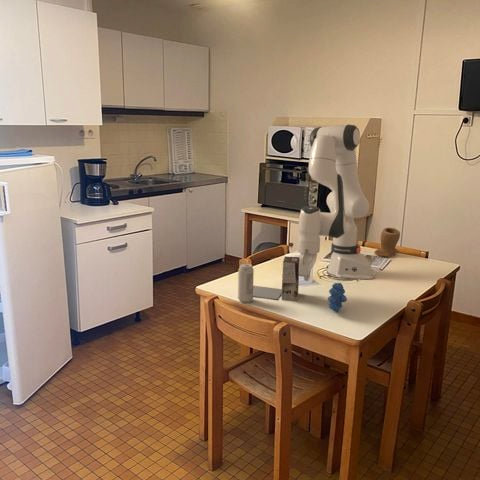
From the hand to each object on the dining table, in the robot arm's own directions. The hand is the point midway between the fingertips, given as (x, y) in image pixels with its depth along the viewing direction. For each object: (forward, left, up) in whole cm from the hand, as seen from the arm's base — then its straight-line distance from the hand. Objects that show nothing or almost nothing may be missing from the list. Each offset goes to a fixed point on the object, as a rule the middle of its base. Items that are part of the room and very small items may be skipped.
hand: (306, 279), depth 197 cm
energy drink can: (+23, +11, -8) cm, 27 cm away
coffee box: (+7, 0, -8) cm, 11 cm away
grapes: (-14, +10, -8) cm, 19 cm away
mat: (+19, 0, -8) cm, 20 cm away
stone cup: (-30, -79, -8) cm, 85 cm away
